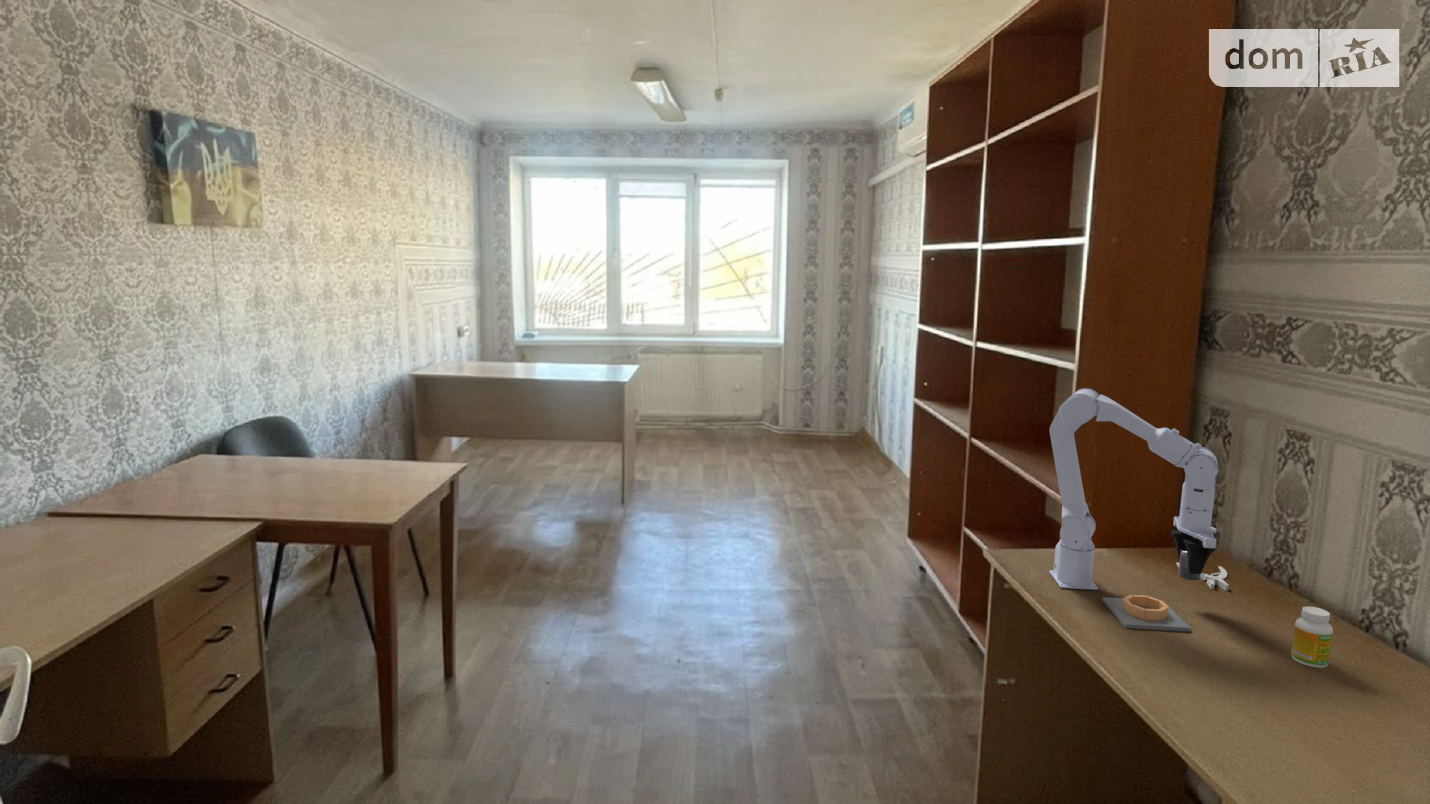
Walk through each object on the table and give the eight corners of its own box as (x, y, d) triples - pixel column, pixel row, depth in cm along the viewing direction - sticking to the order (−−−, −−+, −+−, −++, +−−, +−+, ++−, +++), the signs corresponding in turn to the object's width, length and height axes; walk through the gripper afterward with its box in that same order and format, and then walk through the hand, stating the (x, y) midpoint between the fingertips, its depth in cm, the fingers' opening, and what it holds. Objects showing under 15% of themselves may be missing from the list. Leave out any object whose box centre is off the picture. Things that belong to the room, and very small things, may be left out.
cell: (1174, 572, 165) (1177, 545, 164) (1194, 573, 164) (1197, 546, 163) (1183, 579, 161) (1186, 552, 160) (1203, 580, 160) (1206, 553, 159)
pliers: (1222, 562, 184) (1245, 587, 170) (1221, 569, 184) (1245, 593, 170) (1175, 558, 187) (1195, 582, 172) (1175, 564, 187) (1194, 588, 173)
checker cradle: (1102, 600, 166) (1103, 588, 165) (1162, 604, 164) (1163, 591, 163) (1125, 627, 153) (1126, 614, 152) (1190, 631, 151) (1191, 618, 151)
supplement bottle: (1318, 671, 136) (1325, 619, 135) (1284, 658, 141) (1291, 608, 139) (1334, 664, 139) (1341, 613, 137) (1300, 651, 143) (1307, 602, 142)
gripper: (1235, 518, 153) (1227, 583, 155) (1200, 497, 167) (1194, 557, 169) (1197, 517, 153) (1190, 581, 156) (1165, 496, 168) (1159, 555, 170)
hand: (1189, 569), depth 162 cm, fingers closed on cell, 4 cm apart
